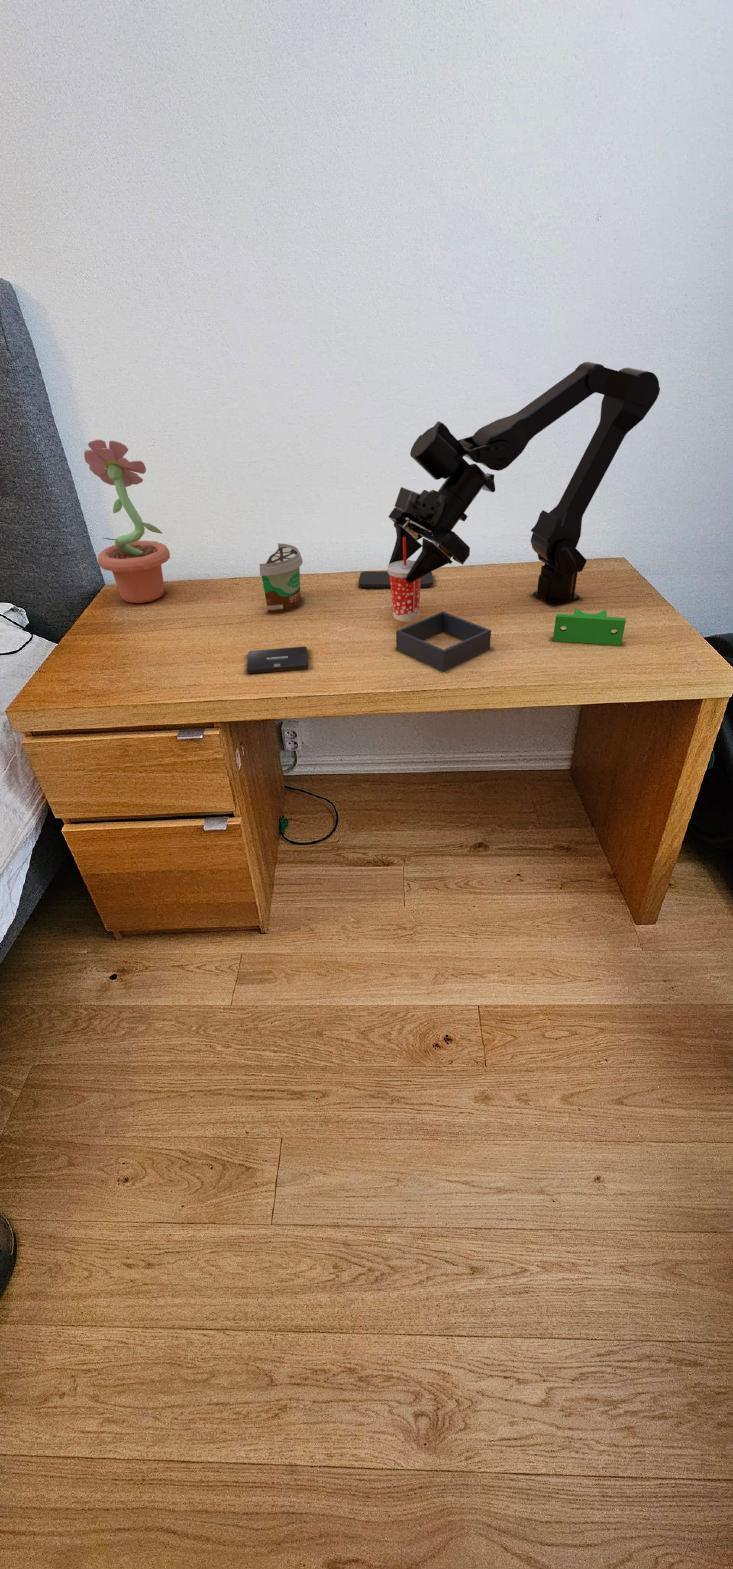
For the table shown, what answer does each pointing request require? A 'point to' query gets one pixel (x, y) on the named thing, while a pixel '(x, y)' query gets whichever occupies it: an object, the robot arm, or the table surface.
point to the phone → (386, 579)
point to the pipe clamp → (589, 628)
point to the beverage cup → (404, 589)
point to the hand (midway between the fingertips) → (398, 576)
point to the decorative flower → (130, 557)
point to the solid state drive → (277, 659)
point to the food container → (282, 579)
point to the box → (414, 646)
